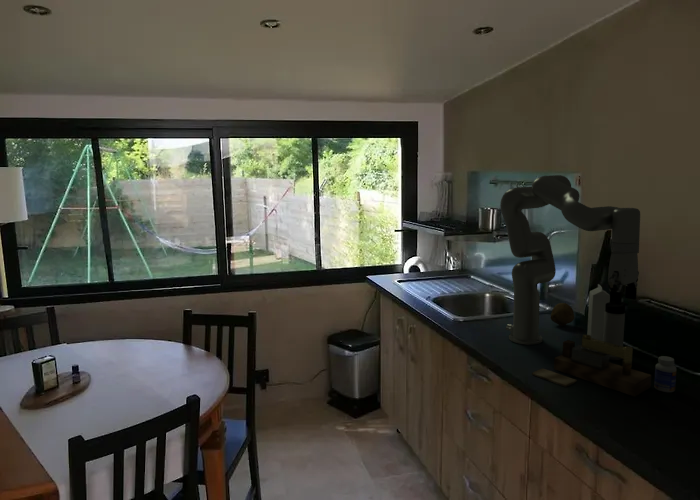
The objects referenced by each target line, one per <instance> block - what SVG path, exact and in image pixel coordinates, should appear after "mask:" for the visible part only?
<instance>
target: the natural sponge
mask: <svg viewBox="0 0 700 500" xmlns="http://www.w3.org/2000/svg"><path fill="white" fill-rule="evenodd" d="M550 319H551V321H552V322H553V323H555V324H557V325H558V326H561V327H564V326H566V325H567V324H569V323H570V324H571V323H572V322H573V321H574V320H575V313H574V309H573V307H572V306H570V304H568V303H566V302H559V303H557V304H555V306H554V307H553V308H552V311H551V314H550Z"/></svg>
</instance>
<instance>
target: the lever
mask: <svg viewBox="0 0 700 500" xmlns="http://www.w3.org/2000/svg"><path fill="white" fill-rule="evenodd" d="M581 345H582V347H585V348H588V349H591V350H595V351H598V352H602V353H605V354H609V355H612V356H616V357H619V358H622V365H621V366H622V373H623V374H625V375H631V369H632V367H633V365H632V364H633V351H634V349H633V347H632V346H627V345H625V346H624V345H623V347H622V346H619V345H615V344H611V343H607V342H604V341H600V340H596V339H593V338H591V336H590V335H587V334H582V337H581Z"/></svg>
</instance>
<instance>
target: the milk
mask: <svg viewBox="0 0 700 500" xmlns="http://www.w3.org/2000/svg"><path fill="white" fill-rule="evenodd" d="M588 294H589V295H588V316H587V334H586V335H590V336H591V338H593V339H596V340H600V341H603V335H604V317H605V305H606V303H609V302H610V293H608V292H607V291H606V290H604V289H603V286H601V284H599V283H598V284H597V287H596V288H594V289H592V290H590V291H589V293H588Z"/></svg>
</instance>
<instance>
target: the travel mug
mask: <svg viewBox="0 0 700 500" xmlns="http://www.w3.org/2000/svg"><path fill="white" fill-rule="evenodd" d="M627 305H628V304H627V303H626V302H625V301H621V305H615V304H610V302H609V303H606V305H605V317H604V335H603V341H604V342H607V343H611V344H615V345H619V346H622V347H624V336H625V332H624V331H625V323H626V322H625V320H626V306H627ZM610 360H612V361H620V360H623V358H619V357H616V356H612V355H610V357H609V361H610Z"/></svg>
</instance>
